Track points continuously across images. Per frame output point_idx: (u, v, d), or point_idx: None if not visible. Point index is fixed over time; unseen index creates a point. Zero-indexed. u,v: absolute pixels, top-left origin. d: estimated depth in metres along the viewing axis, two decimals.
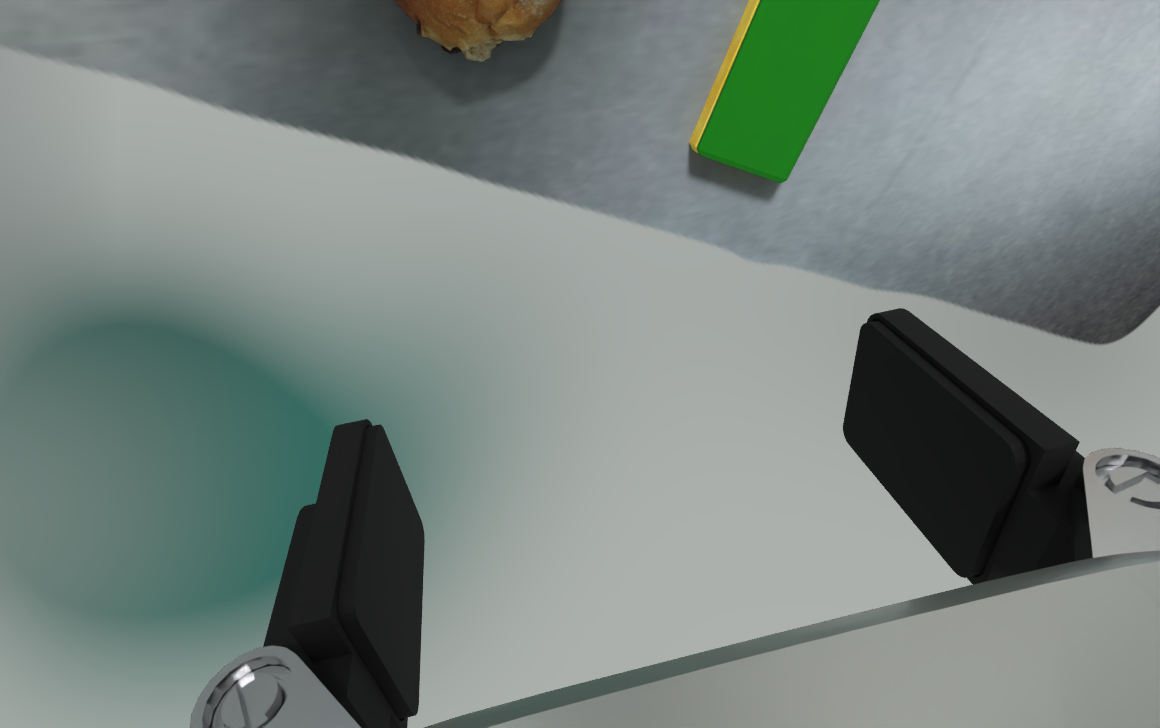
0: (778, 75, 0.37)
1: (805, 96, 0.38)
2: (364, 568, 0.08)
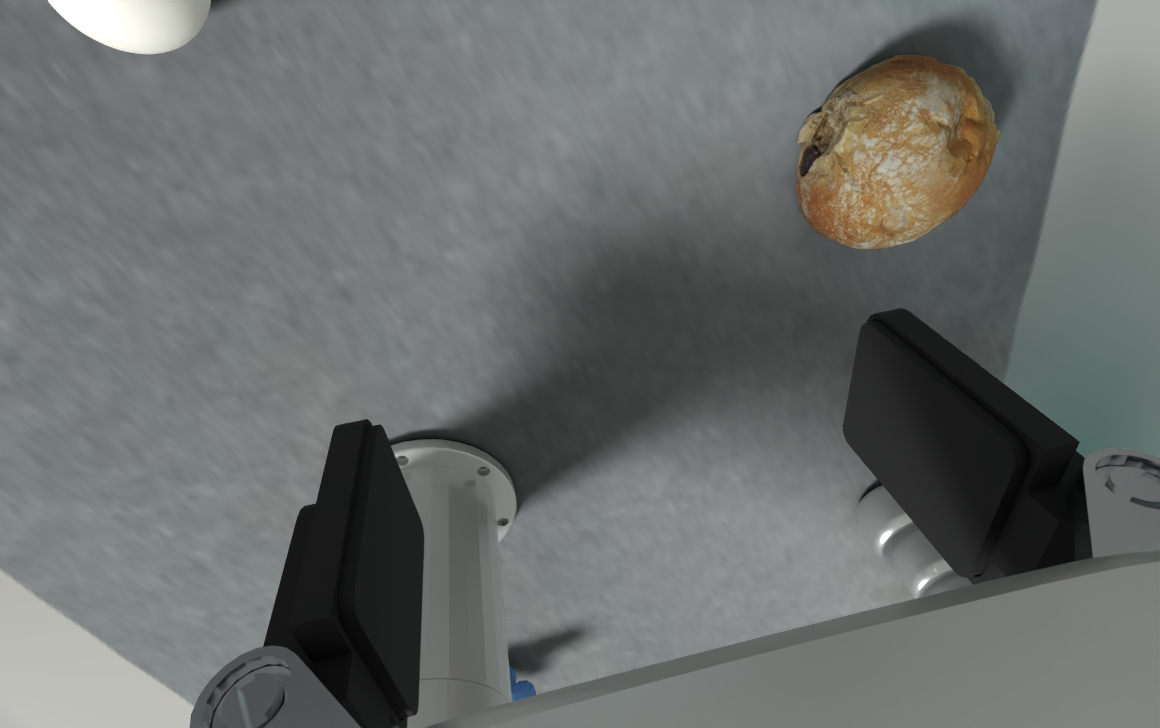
0: None
1: None
2: (364, 568, 0.08)
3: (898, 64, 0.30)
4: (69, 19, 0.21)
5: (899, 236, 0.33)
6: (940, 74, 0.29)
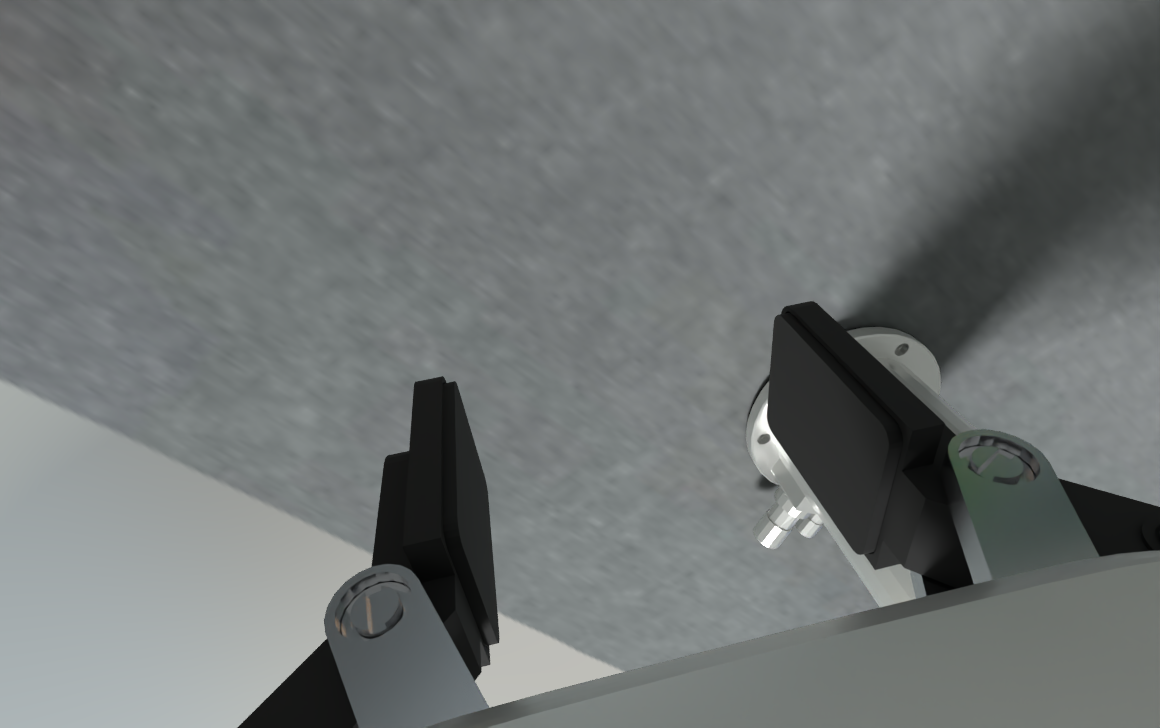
0: None
1: None
2: (460, 502, 0.09)
3: None
4: None
5: None
6: None
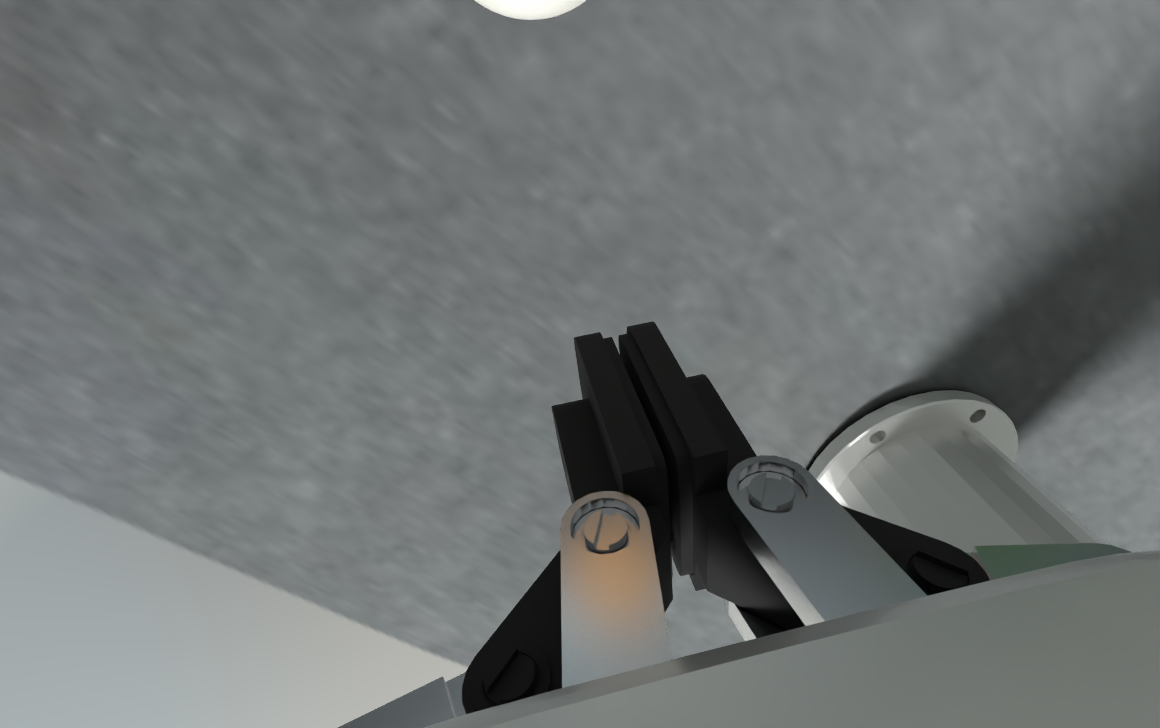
0: None
1: None
2: (653, 439, 0.09)
3: None
4: None
5: None
6: None
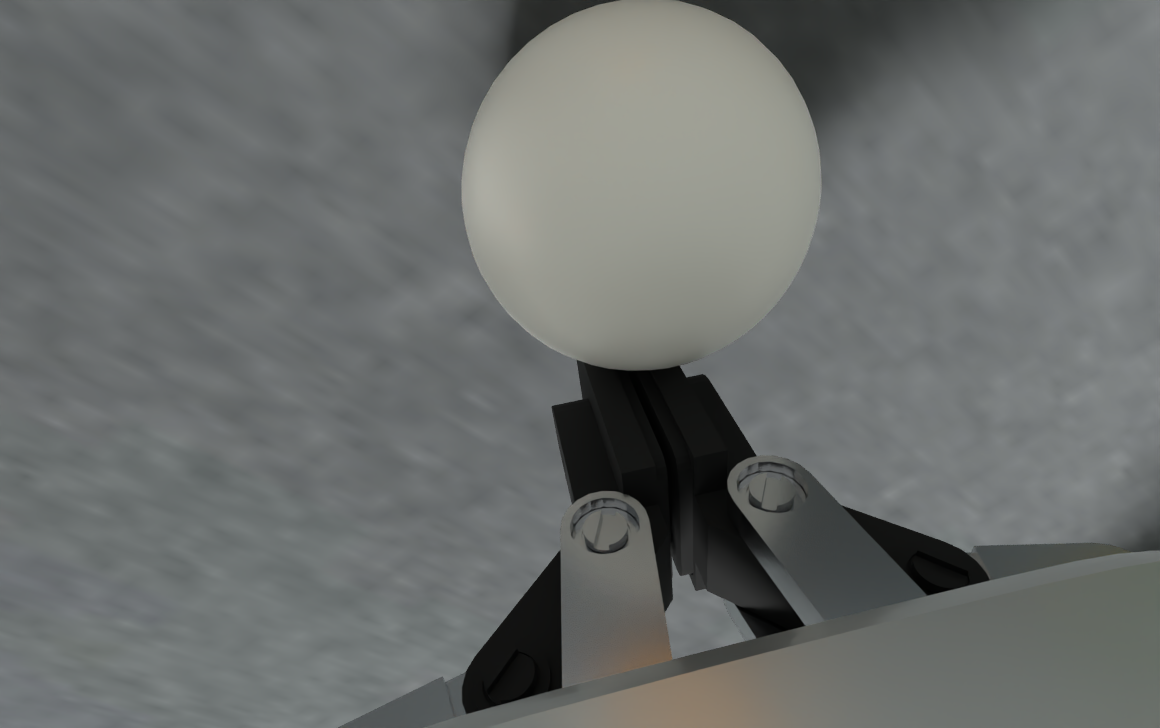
0: None
1: None
2: (652, 439, 0.09)
3: None
4: (604, 365, 0.09)
5: None
6: None
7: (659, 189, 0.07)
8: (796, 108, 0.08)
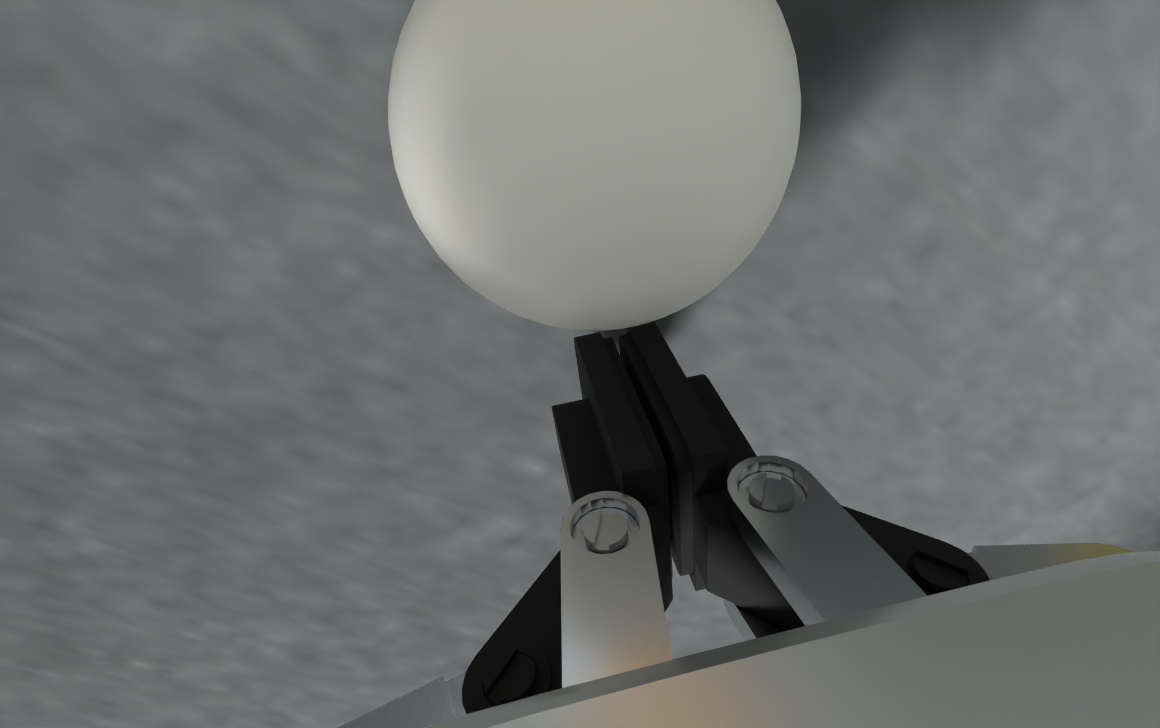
0: None
1: None
2: (652, 439, 0.09)
3: None
4: None
5: None
6: None
7: None
8: None
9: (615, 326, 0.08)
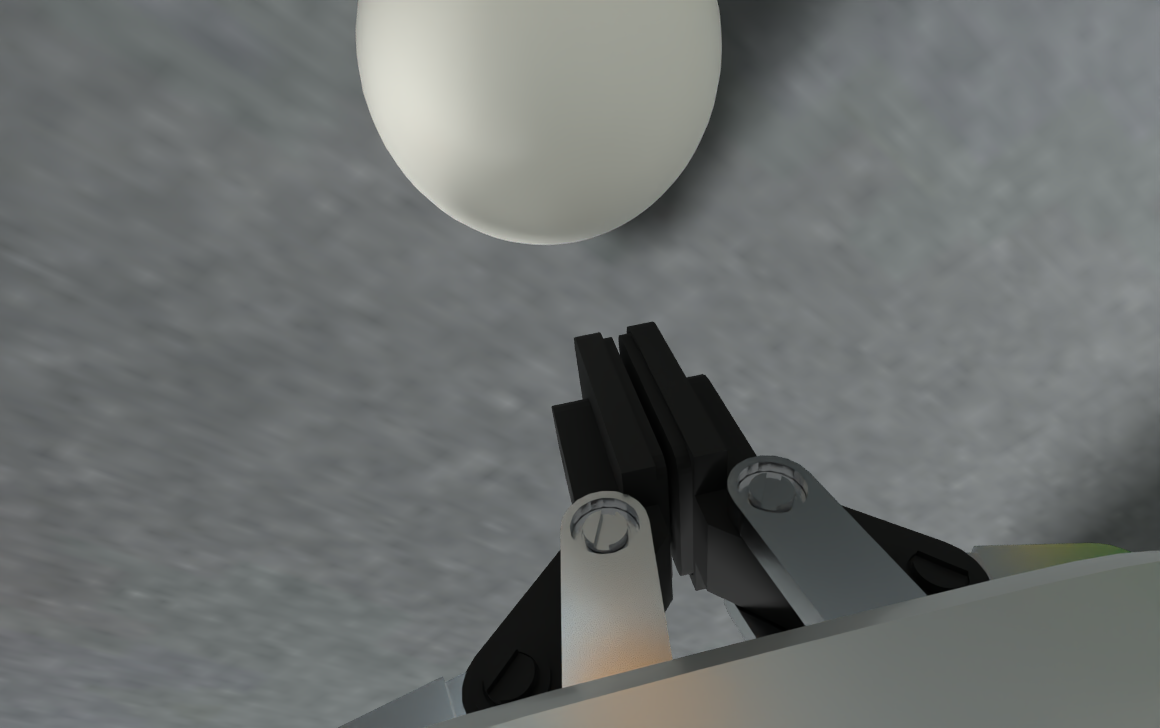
0: None
1: None
2: (653, 439, 0.09)
3: None
4: None
5: None
6: None
7: None
8: None
9: (562, 236, 0.09)
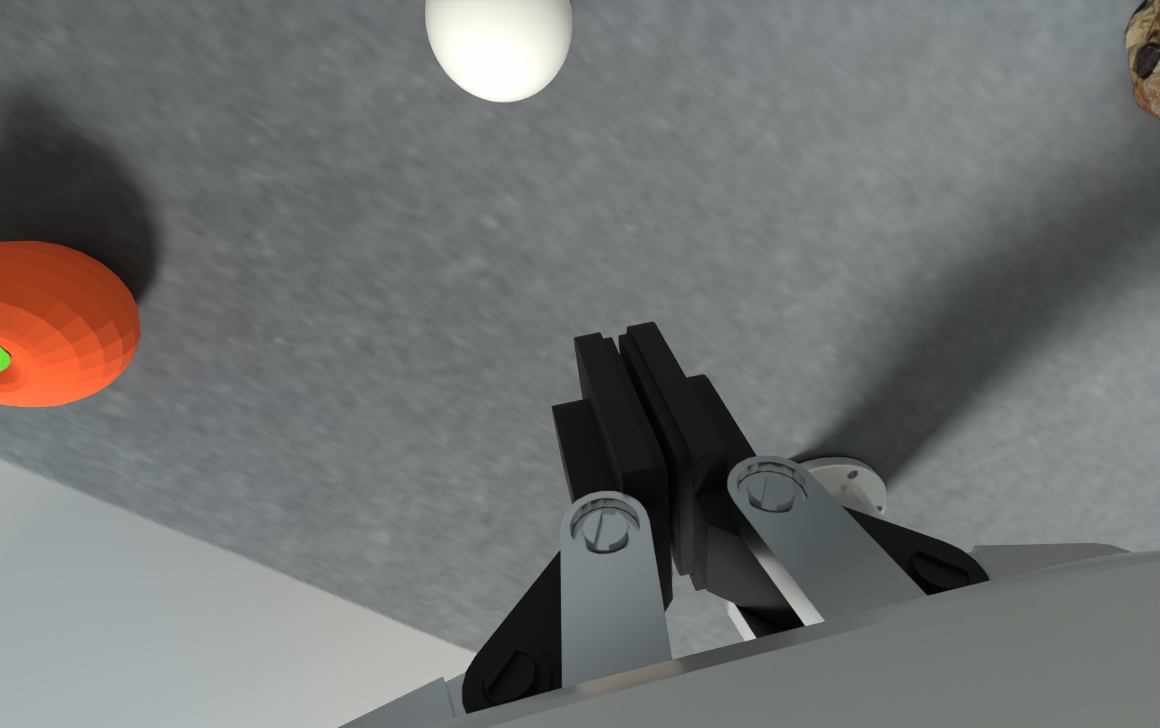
0: None
1: None
2: (652, 439, 0.09)
3: None
4: None
5: None
6: None
7: None
8: None
9: (506, 90, 0.22)
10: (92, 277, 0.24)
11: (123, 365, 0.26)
